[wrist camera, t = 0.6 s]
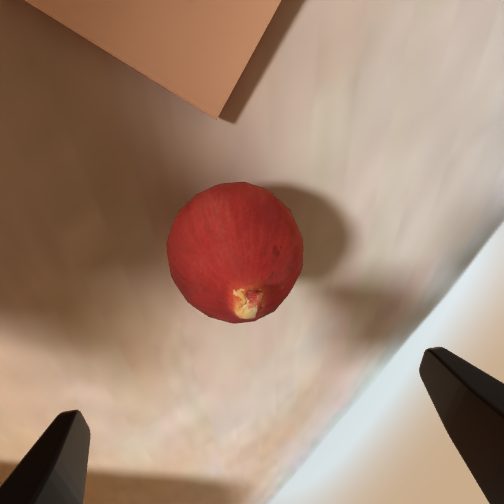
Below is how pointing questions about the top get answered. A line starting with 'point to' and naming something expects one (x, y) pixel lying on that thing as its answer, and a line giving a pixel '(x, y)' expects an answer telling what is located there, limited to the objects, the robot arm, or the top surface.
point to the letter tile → (173, 39)
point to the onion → (235, 252)
